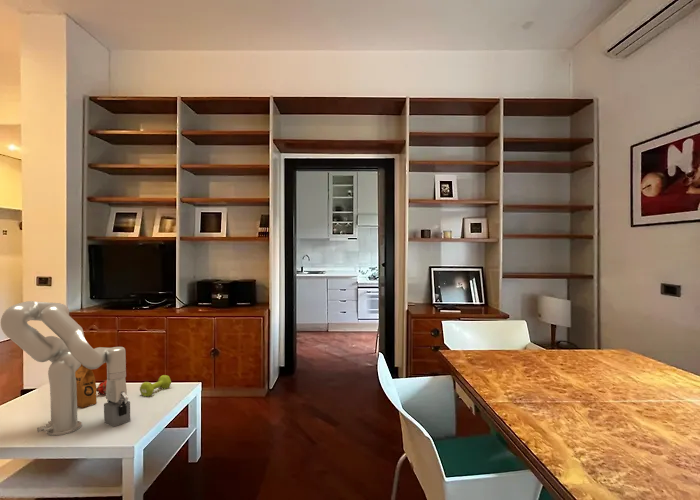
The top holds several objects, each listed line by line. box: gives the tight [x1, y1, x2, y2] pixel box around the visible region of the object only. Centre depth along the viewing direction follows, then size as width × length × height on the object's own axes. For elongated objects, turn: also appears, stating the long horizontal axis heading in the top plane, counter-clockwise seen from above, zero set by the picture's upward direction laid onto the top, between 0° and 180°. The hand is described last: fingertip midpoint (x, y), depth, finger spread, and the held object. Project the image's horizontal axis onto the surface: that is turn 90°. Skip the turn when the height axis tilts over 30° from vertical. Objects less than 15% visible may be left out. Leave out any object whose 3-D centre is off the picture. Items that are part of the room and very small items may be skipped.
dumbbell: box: [139, 374, 172, 398], centre depth 226 cm, size 16×8×7 cm, turn 160°
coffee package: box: [75, 364, 97, 409], centre depth 209 cm, size 10×12×22 cm
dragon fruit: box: [96, 379, 107, 396], centre depth 223 cm, size 8×8×12 cm
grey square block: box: [103, 399, 131, 428], centre depth 187 cm, size 8×8×9 cm
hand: (117, 412), depth 187 cm, fingers open, 9 cm apart
